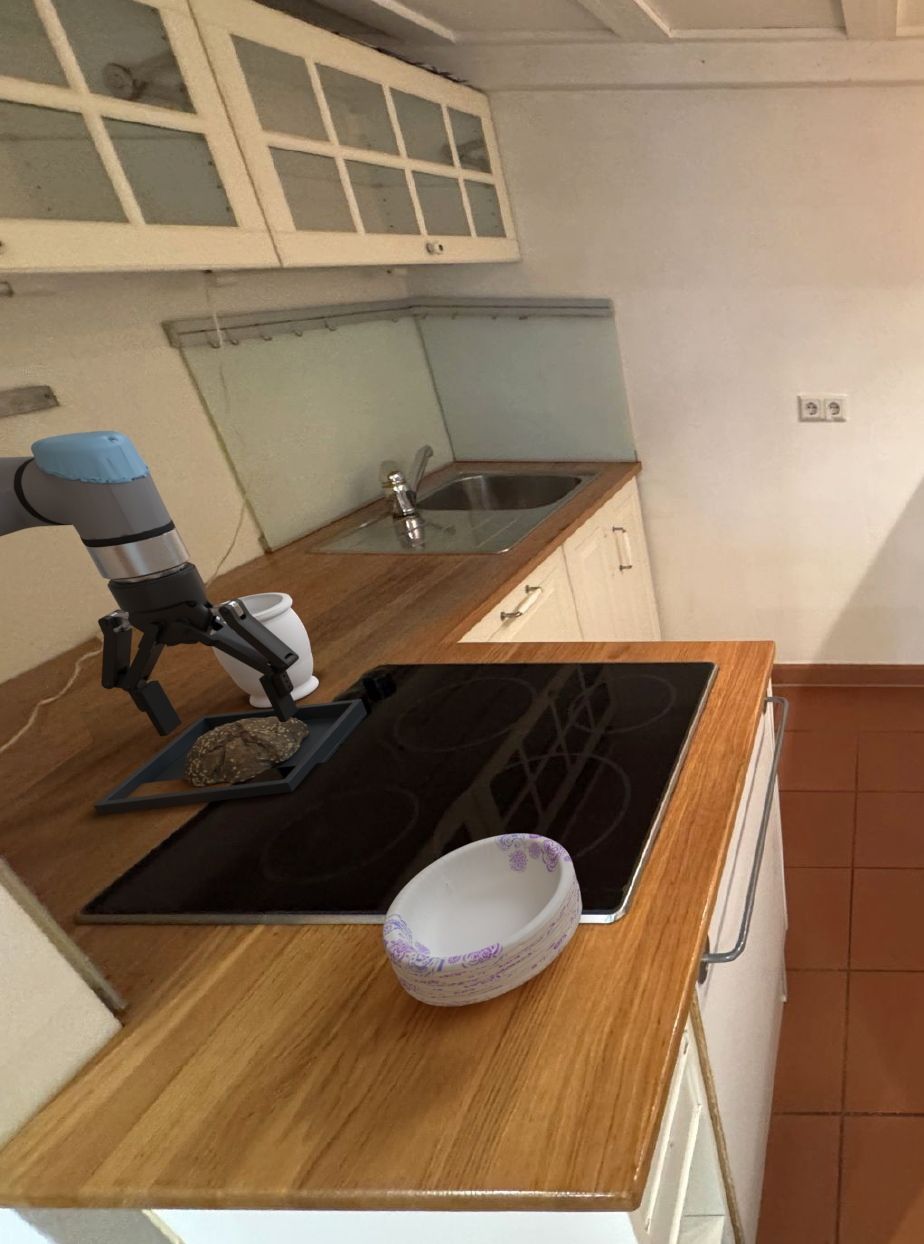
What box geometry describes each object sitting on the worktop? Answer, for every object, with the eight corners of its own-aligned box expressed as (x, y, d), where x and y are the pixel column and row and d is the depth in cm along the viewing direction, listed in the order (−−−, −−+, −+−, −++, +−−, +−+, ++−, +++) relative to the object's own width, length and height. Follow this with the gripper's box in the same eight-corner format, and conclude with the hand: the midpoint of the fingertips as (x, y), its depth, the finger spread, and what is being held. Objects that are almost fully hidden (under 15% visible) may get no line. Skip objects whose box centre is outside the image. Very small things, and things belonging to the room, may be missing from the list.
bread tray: (104, 822, 82) (92, 805, 81) (209, 730, 98) (201, 715, 97) (296, 799, 85) (287, 782, 84) (367, 713, 101) (361, 698, 100)
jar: (254, 721, 100) (208, 630, 94) (233, 698, 106) (188, 610, 99) (338, 688, 108) (301, 602, 101) (314, 669, 113) (278, 585, 107)
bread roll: (208, 744, 94) (192, 713, 92) (316, 721, 99) (303, 692, 97) (166, 802, 84) (146, 770, 82) (289, 774, 88) (274, 742, 86)
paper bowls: (608, 883, 72) (593, 825, 68) (555, 1026, 58) (533, 963, 55) (460, 891, 71) (437, 833, 68) (371, 1037, 58) (337, 974, 54)
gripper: (288, 548, 85) (351, 695, 94) (54, 568, 81) (143, 718, 90) (250, 572, 78) (321, 727, 87) (-7, 595, 74) (96, 753, 84)
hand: (231, 723), depth 89 cm, fingers open, 13 cm apart
